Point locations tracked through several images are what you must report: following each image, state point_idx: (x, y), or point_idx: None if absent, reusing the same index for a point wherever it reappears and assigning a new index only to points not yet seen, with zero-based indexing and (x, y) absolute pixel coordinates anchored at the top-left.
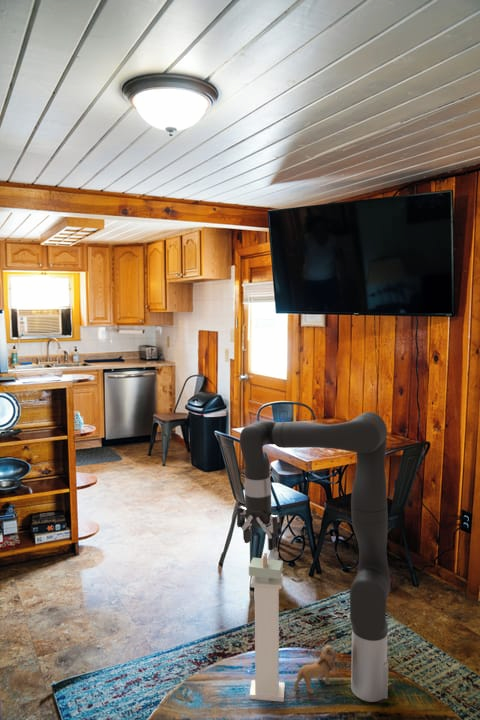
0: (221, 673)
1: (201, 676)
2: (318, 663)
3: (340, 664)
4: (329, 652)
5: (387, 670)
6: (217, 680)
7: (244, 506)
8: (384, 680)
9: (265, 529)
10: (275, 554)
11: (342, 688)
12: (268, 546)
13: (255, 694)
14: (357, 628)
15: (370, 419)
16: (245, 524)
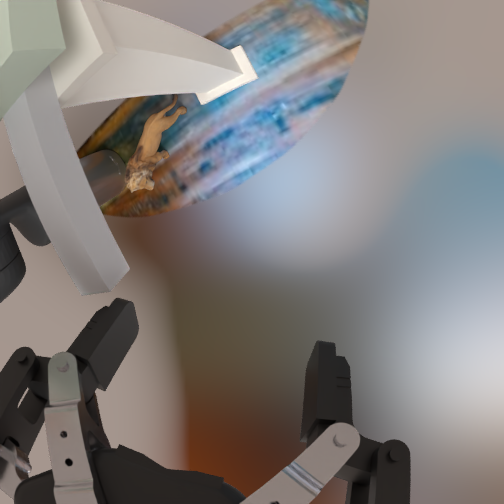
0: (327, 75)
1: (356, 54)
2: (141, 147)
3: (157, 201)
4: (126, 173)
5: None
6: (322, 56)
7: None
8: None
9: (53, 414)
10: (68, 262)
11: (132, 154)
12: (116, 315)
13: (231, 51)
14: None
15: None
16: (303, 485)
